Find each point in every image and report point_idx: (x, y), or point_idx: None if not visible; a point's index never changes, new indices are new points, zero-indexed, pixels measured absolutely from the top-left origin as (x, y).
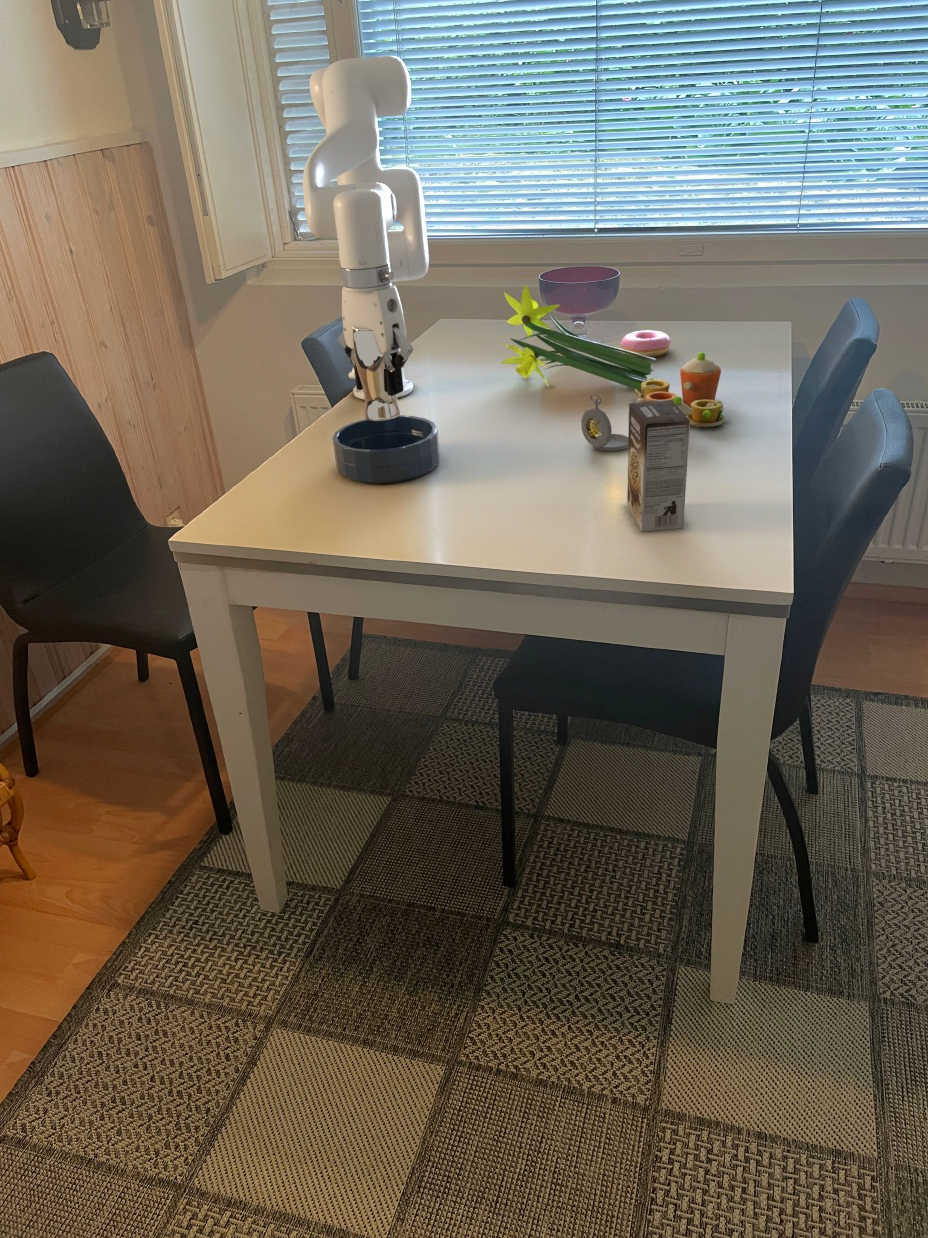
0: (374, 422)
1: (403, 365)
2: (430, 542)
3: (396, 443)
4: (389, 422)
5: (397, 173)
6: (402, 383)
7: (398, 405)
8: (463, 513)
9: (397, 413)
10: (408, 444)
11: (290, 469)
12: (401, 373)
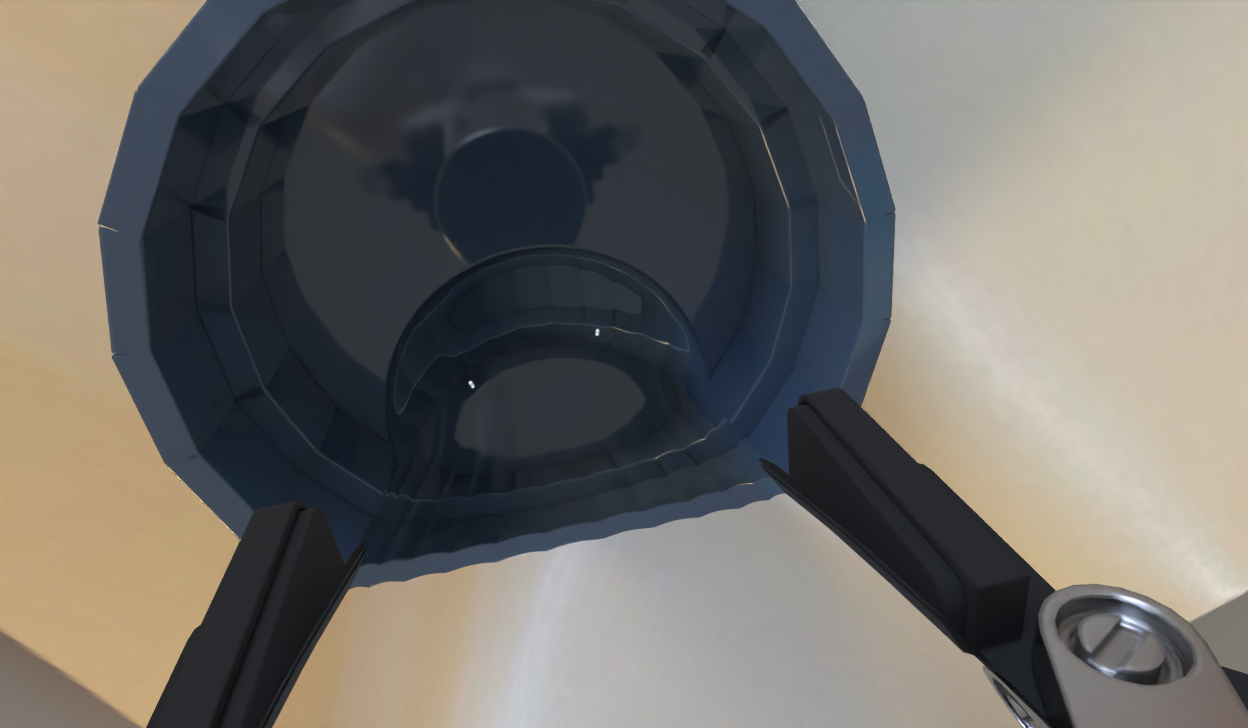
0: (169, 189)
1: (1166, 627)
2: (1153, 554)
3: (330, 61)
4: (230, 73)
5: None
6: (940, 480)
7: (678, 328)
8: (1156, 367)
9: (704, 357)
10: (408, 11)
11: (163, 604)
12: (1029, 567)
